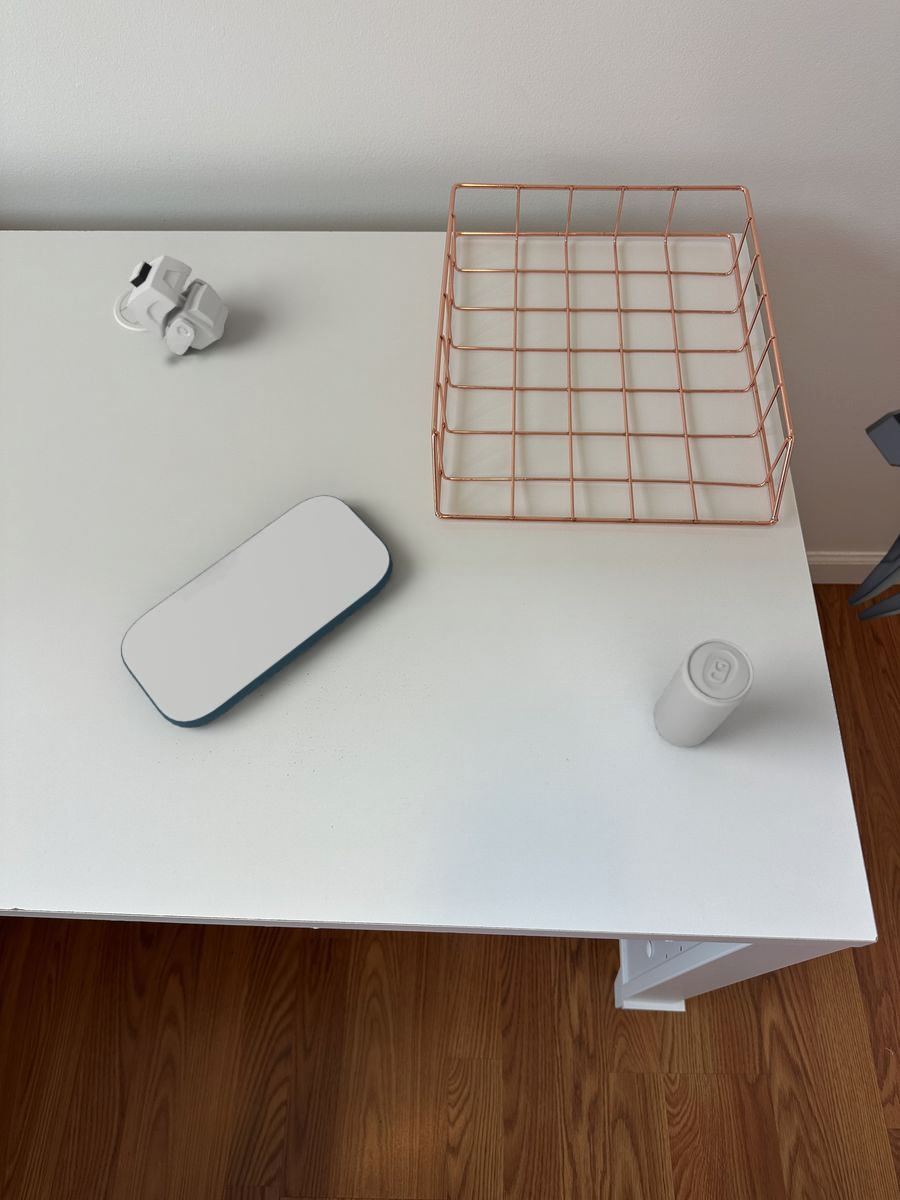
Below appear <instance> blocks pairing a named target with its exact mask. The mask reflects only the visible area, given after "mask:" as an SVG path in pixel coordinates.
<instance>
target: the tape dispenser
mask: <svg viewBox="0 0 900 1200" xmlns="http://www.w3.org/2000/svg"><path fill="white" fill-rule="evenodd" d="M192 271H193V269H192V267H191V266H190V265H188V264H187V263H184V262H183V261H181V260H178V259H177V258H174V257H171V256H169V255H167V254H166V255H165V254H163V255H161V256H158V257H156V258H154V259H152V261H150V262H149V263H148V262H146V261H145V260H142V261H141V262H140V263H138V264H136V265H135V267H134V269H133V271H132V273H131V275H130V278H129V280H128V282H129V283H130V284H132V285H133V286H134V287H133V289H132V291H131V294H130V296H129V299H128V301H127V304H126V308H127V310H129V312H130V313H131V314H132V315H133V317H134V318H135V320H136V321H138V323H139V324H140V325H141V326H142V327H143V328H144V329H145V330H146V331H148V332H149V333H150V334H151V335H152V336H154V337H155V338H156V339H158V340H161V341H163V340H164V338H165V336H166V344H167V346H168V348H169V350H170V352H171V353H173V354H176V355H178V356H183V355H184V354H185V353H186V351H188V349H189V348H190V347H191V348H193V349H196V350H204V349H205V348H207V347H208V346H209V345H211V344H213V343H214V342H215V341H218V340H220V339H221V338H222V337H223V335H224V333H225V325H226V324H225V323H226V320H227V318H228V315H229V313H230V312H229V309H228V307H227V305H226V304H225V303H224V302H223V300H222V298H221V296H220V295H219V294H218V293H217V292H216V290H215V289H214V288H213V287H212V285H210V284H209V283H208V282H206V281H205V280H203V279H200V278H195V279H193V280H192V281H191V282H190V283H189V284H188V286H187V287H186V289H185V290H184V291H183V289H184V287H185V284H186V282H187V280H188V277H190V275H191V273H192ZM182 291H183V292H182ZM167 328H168V330H167V332H166V329H167Z"/></svg>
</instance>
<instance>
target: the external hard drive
mask: <svg viewBox="0 0 900 1200" xmlns="http://www.w3.org/2000/svg"><path fill="white" fill-rule="evenodd" d="M393 564H394V562H393V557H392V554H391V551H390V550H389V548H388V546H387V545H386V544H385V543H384V541H383V540H382V539H381V537H379V535H377V533H375V531H374V530H372V528H371V527H370V526H369V525H368V524H367V523H366V522H365V521H364V520H363V518H361V517H360V516H359V514H358V513H356V512H355V511H354V510H353V509H352V508H351V507H350V506H349V505H348V504H347V503H346V502H345V501H344V500H342V499H340V498H338V497H336V496H333V495H326V494H325V495H324V494H323V495H322V494H321V495H316V496H312V497H309V498H307V499H304V500H303V501H301V502H299V503H297V504H296V505H294V506H292V507H291V508H289V509H288V510H287V511H286V512H284V513H283V514H281V515H280V516H279V517H276V519H275V520H273V521H271V522H270V523H269V524H267V525H266V526H265V527H263V528H262V529H261V530H259V531H258V532H256V533H255V534H253V535H252V536H251V537H249V538H248V539H246V540H245V541H244V542H242V543H241V544H239V545H238V546H236V547H235V548H234V549H233V550H231V551H230V552H228V553H227V554H226V555H224V556H223V557H222V558H220V559H219V560H217V561H216V562H214V563H213V564H211V565H210V566H209V567H208V568H205V570H203V571H202V572H201V573H199V574H198V575H196V576H195V577H194V578H192V579H191V580H189V581H188V582H186V583H185V584H184V585H183V586H181V587H180V588H178V589H177V590H176V591H174V592H172V593H171V594H170V595H169V596H167V597H166V598H164V599H162V601H160V602H159V603H157V604H156V605H155V606H153V607H152V608H150V609H149V610H147V612H145V613H143V615H141V616H140V617H139V618H138V619H137V620H135V622H134V623H132V624H131V626H130V627H128V629H127V631H126V632H125V634H124V636H123V638H122V640H121V644H120V656H121V659H122V662H123V665H124V666H125V668H126V669H127V671H128V672H129V674H130V676H132V678H133V679H134V681H135V682H136V683H137V684H138V686H139V688H140V689H141V690H142V691H143V693H144V694H145V695H146V697H147V698H148V699H149V701H150V702H151V703H152V705H153V706H154V707H155V709H156V710H157V711H158V713H159V714H161V716H162V717H163V718H164V719H165V720H166V721H167V722H169V723H171V724H172V725H173V726H177V727H179V728H184V729H193V728H200V727H202V726H205V725H208V724H210V723H212V722H214V721H215V720H217V719H218V718H220V717H222V716H223V715H224V714H225V713H228V712H229V710H231V709H233V707H235V706H236V705H238V704H239V703H240V702H241V701H242V700H244V699H245V698H246V697H248V696H249V695H250V694H252V693H253V692H254V691H255V690H257V689H258V688H260V687H261V686H262V685H263V684H264V683H266V682H267V681H269V680H270V679H271V678H272V677H273V676H275V675H276V674H278V673H279V672H280V671H281V670H282V669H284V668H285V667H286V666H288V665H289V664H290V663H292V662H293V661H294V660H296V659H297V658H298V657H299V656H300V655H302V654H303V653H304V652H306V651H307V650H308V649H309V648H311V647H312V646H313V645H315V644H316V643H317V642H318V641H320V640H322V639H323V638H324V637H325V636H326V635H328V634H329V633H330V632H332V631H333V630H335V628H337V627H338V626H340V624H342V623H343V622H344V621H345V620H347V619H348V618H350V617H351V616H352V615H353V614H355V613H356V612H358V611H359V610H360V609H361V608H362V607H364V606H365V605H367V604H368V603H369V602H370V601H371V600H372V599H373V598H375V597H376V596H378V595H379V593H380V592H381V591H382V590H384V588H385V587H386V585H387V584H388V582H389V581H390V580H391V576H392V573H393V566H394V565H393Z"/></svg>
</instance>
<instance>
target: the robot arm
mask: <svg viewBox="0 0 900 1200" xmlns="http://www.w3.org/2000/svg"><path fill="white" fill-rule="evenodd" d="M864 431H865V433H866V435H867V437H868V438H869V439H870V440H871V442H872V443H873V445H874V446H875V447H876V449H877V450H878V451H879V453H880V454H881V456H882V457H883V458H884V460H885V461H886V462H887V464H888V465H889V466H891V467H896V468H900V408H898V409H895V410H892V411H889V412H887V413H886V414H884V415H883V416H881V417H880V418H878V419H877V420H876V421H874V422H873V423H871V424H870V425H869V426H866V428H864ZM899 582H900V533H899V534H898V536H897V537H896V539H895V541H894V542H893V544H892V545H891V546H890V549H889V550H888V551H887V552H886V553H885V555H884V557H882V559H881V560H880V561H879V562H878V564H877V565H876V566H875V567H874V568H873V570H872V571H871V572H870V573H869V574H867V577H866V578H865V579H864V580H863V581H862V582H861V583H860V585H859V586H858V587H857V588H856V590H855V591H854V592H853V593H852V594H851V595H850V596H849V597H848V599H847V601H846V603H847V604H848V606H849V607H857V606H859V605H861V604H863V603H865V602H867V601H869V600H871V599H873V598H875V597H876V596H877V597H878V595H880V594H882V593H883V592H884V591H886V590H887V589H889V588H890V587H893V586H894V585H895V584H897V583H899ZM898 614H900V592H897V593H895V594H893V595H891V596H888V597H886V598H884V599H882V600H880V601H877V602H875V603H874V604H872V605H870V606H869V607H867V608H865V609H864V610H862V611H861V612H859V613H858V614H856V618H857V620H858V621H860V622H861V621H862V622H866V621H870V620H874V619H875V620H876V619H880V618H885V617H889V616H893V615H898Z"/></svg>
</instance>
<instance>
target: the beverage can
mask: <svg viewBox="0 0 900 1200" xmlns="http://www.w3.org/2000/svg"><path fill="white" fill-rule="evenodd" d="M753 682H754V667H753V664H752V661H751V659H750V657H749V656H748V654H747V653H746V652H745V651H744V650H743V649H742V648H741V647H740V646H738V645H737V644H735V643H734V642H731V641H729V640H726V639H720V638H712V639H711V638H710V639H706V640H703V641H701V642H699V643H697V644H696V645H695V646H693V647H692V648H690V650H689V651H688V652H687V653H686V655H685V656H684V658H683V659H682V660H681V662H680V664H679V666H678V667H677V668H676V671H675V672H674V674H673V675H672V677H671V679H670V680H669V682H668V684H667V685H666V687H665V689H664V690H663V692H662V693H661V695H660V697H658V700H657V701H656V703H655V705H654V710H653V721H654V725H655V726H654V727H655V729H656V731H657V732H658V735H659V736H660V737H661V738H662V739H663V740H664V741H665V742H667V743H668V744H669V745H673V746H675V747H678V748H691V747H695V746H697V745H700V744H702V743H703V742H704V741H705V740H706V739H708V738H709V737H710V735H711V734H712V733H714V731H715V730H716V729H717V728H718V727H719V726H720V725H721V724H722V723H723V722H724V721H725V720H726V719H727V718H728V717H729V716H730V714H731V713H732V712H733V711H734V710H735V709H736V708H737V707H738V706H739V705H740V703H742V701H743V700H744V699H745V698H746V697H747V696H748V693H749V692H750V690H751V687H752V685H753Z"/></svg>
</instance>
